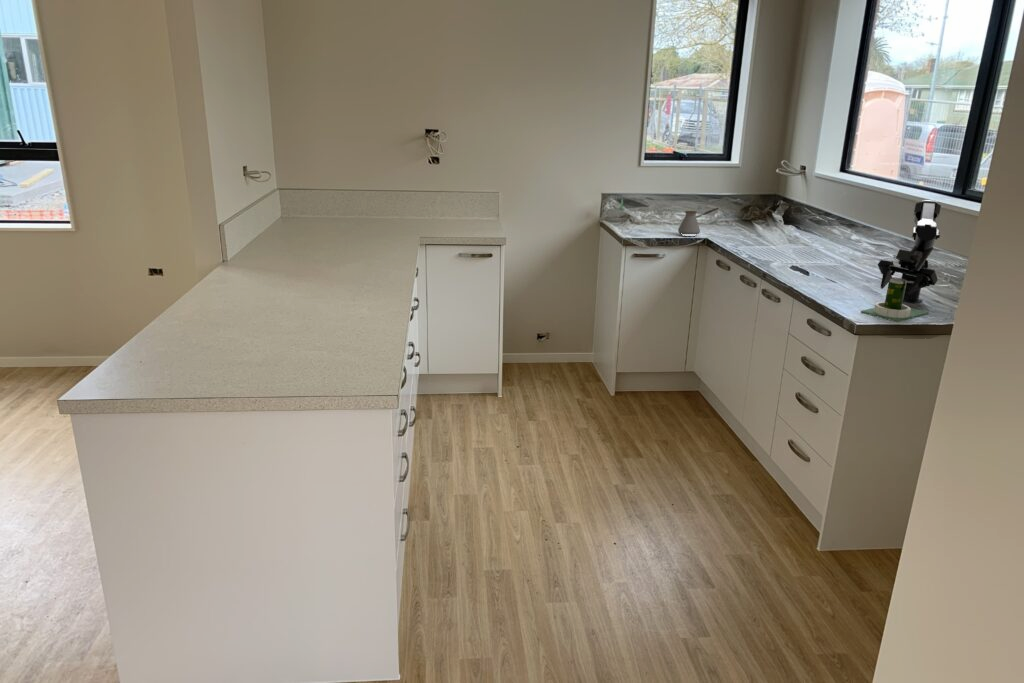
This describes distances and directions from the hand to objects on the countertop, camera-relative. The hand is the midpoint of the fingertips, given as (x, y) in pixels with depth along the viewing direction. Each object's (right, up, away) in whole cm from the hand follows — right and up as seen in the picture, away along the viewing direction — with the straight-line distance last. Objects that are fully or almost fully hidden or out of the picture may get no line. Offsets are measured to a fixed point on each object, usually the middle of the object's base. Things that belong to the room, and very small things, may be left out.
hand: (894, 290), depth 248 cm
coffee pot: (-31, +39, +141) cm, 149 cm away
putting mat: (+3, -7, +5) cm, 10 cm away
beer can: (+1, -8, +3) cm, 8 cm away
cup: (+1, -8, +3) cm, 9 cm away
